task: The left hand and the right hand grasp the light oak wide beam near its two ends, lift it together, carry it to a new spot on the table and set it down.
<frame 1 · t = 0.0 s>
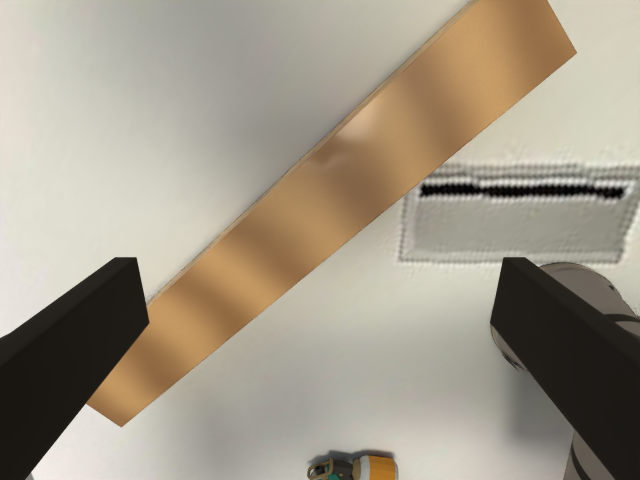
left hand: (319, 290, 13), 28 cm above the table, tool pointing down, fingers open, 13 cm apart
wide beam: (281, 227, 41), on the table
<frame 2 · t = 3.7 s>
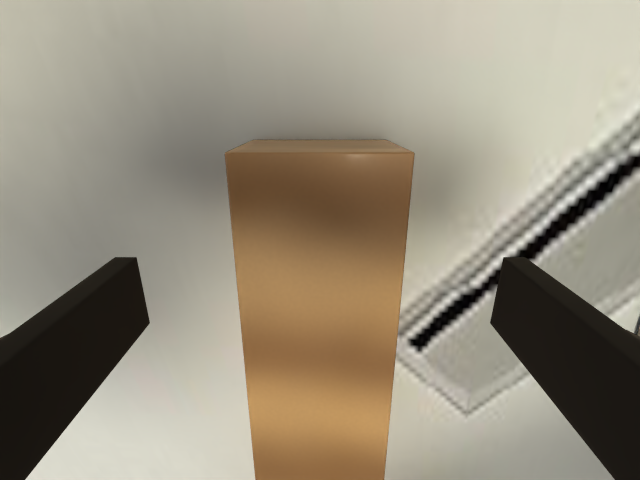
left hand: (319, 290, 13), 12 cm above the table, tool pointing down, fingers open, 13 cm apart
wide beam: (319, 478, 33), on the table, touching right hand
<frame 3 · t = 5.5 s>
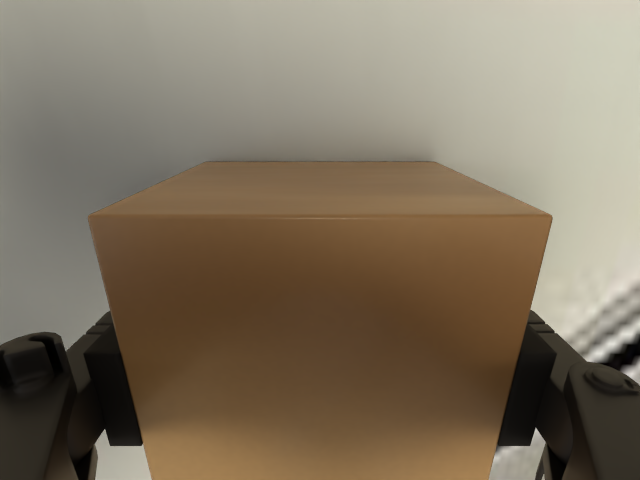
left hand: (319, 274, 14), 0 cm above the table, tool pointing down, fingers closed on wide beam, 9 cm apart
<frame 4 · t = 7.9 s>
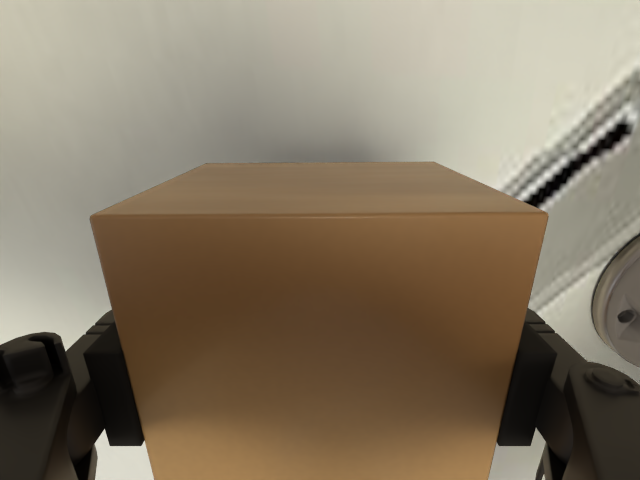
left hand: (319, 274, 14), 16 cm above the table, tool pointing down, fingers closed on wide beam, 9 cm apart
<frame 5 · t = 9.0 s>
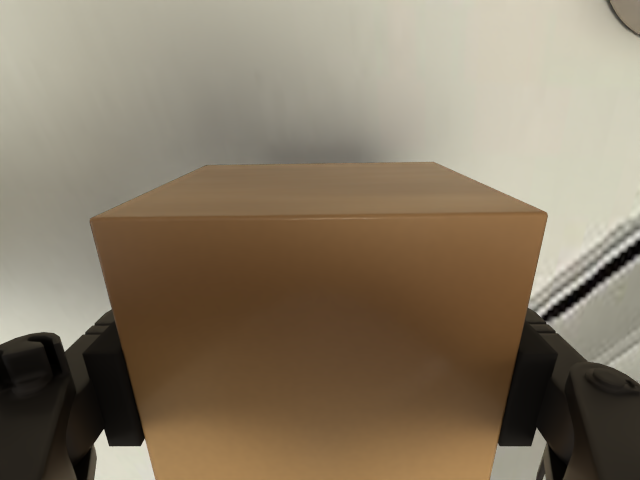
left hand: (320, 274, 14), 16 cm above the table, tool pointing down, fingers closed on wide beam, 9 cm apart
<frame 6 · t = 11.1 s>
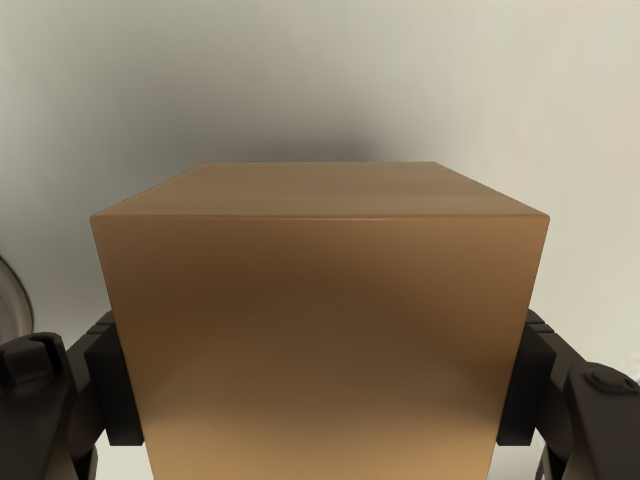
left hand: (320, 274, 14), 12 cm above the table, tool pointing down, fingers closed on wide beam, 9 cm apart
when the left hand's fingers open (2 cm above the table, at t = 12.7 s): wide beam drops 1 cm, on the table.
when the right hand's fingers open (2 cm above the table, at t = 12.7 s): wide beam drops 1 cm, on the table.
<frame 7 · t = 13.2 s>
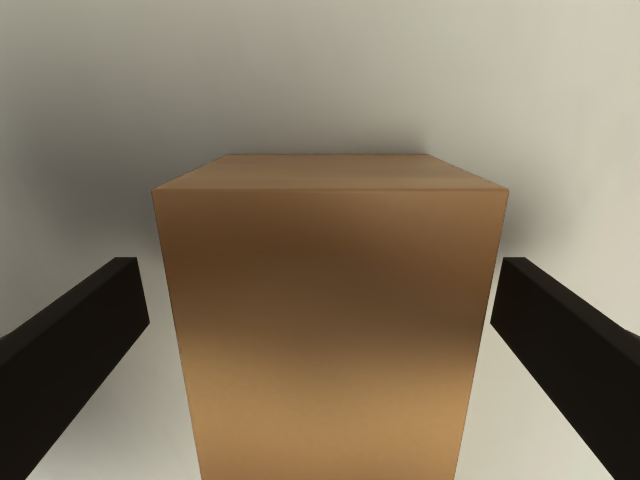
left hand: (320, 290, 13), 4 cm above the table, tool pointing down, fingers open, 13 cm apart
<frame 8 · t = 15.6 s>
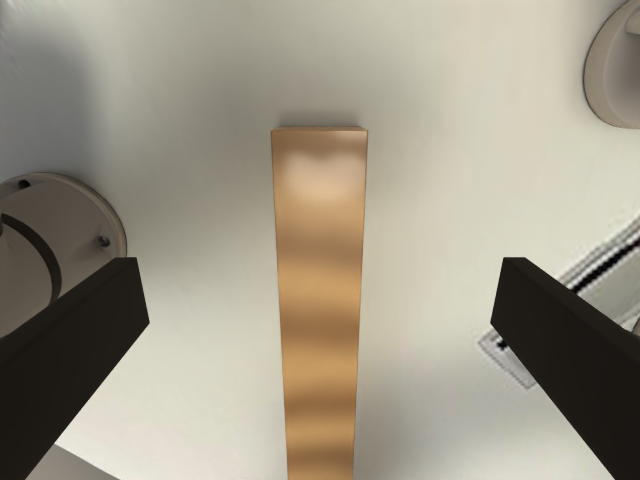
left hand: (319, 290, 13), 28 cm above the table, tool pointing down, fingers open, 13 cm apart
wide beam: (320, 362, 48), on the table
bust sculpture: (623, 36, 34), on the table
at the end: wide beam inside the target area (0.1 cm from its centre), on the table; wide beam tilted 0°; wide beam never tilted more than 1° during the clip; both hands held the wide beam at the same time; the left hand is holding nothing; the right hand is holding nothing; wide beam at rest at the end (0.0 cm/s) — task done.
